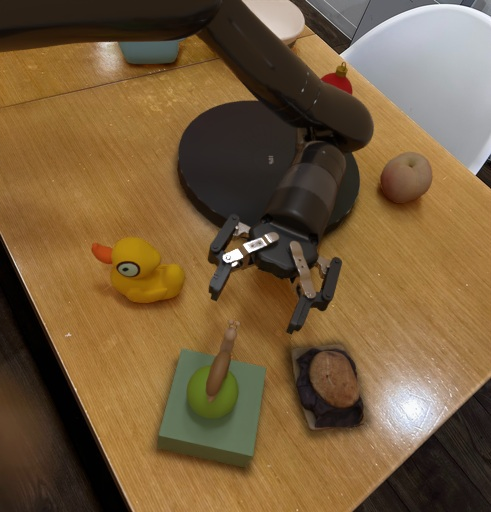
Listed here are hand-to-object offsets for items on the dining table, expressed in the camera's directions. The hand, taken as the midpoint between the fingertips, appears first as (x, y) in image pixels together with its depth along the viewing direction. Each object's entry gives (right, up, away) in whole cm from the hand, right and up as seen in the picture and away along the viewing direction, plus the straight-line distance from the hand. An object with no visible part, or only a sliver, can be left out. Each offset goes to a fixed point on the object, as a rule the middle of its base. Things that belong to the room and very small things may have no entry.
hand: (252, 313), depth 51 cm
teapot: (-21, +46, +46) cm, 68 cm away
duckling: (-15, +1, +15) cm, 21 cm away
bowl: (0, +49, +52) cm, 71 cm away
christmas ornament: (+15, +34, +45) cm, 59 cm away
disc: (+3, +20, +32) cm, 38 cm away
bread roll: (+9, -11, +12) cm, 18 cm away
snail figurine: (-4, -9, +3) cm, 11 cm away
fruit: (+25, +16, +34) cm, 46 cm away
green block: (-5, -13, +7) cm, 15 cm away
